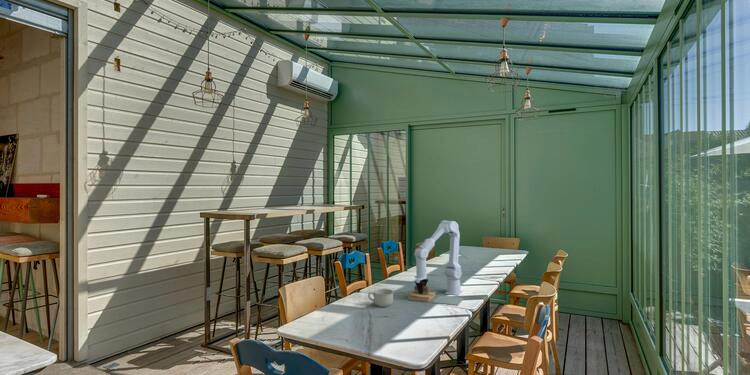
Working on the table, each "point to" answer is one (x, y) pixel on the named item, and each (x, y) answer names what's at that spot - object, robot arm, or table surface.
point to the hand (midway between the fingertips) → (421, 292)
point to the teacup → (382, 297)
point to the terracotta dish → (420, 299)
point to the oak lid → (425, 294)
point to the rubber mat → (448, 300)
